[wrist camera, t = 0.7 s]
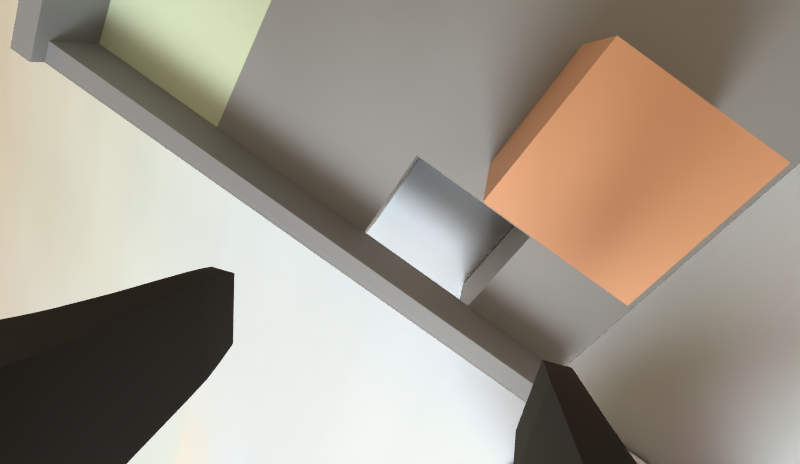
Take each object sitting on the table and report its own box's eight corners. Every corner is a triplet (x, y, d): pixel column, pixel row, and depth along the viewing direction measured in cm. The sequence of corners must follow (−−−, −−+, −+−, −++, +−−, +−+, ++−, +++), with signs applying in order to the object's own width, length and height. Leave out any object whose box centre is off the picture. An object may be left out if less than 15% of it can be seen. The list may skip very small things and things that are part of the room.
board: (885, 17, 13) (1108, -11, 8) (541, 339, 20) (552, 431, 15) (286, -432, 13) (147, -744, 8) (137, 52, 20) (10, 48, 15)
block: (702, 132, 13) (790, 162, 9) (594, 240, 15) (627, 305, 11) (582, 44, 13) (617, 35, 9) (489, 164, 15) (482, 201, 11)
